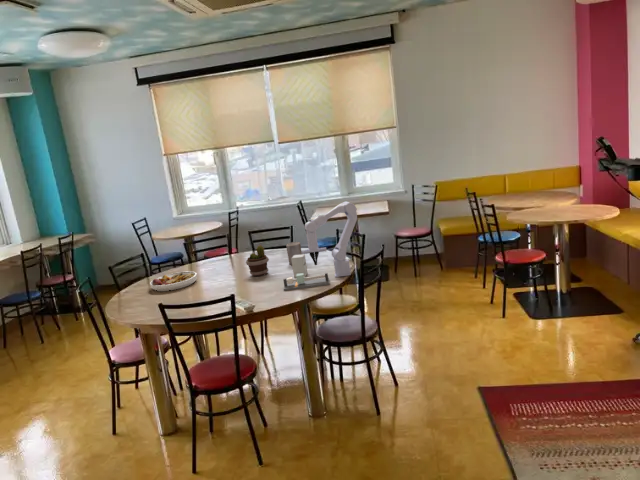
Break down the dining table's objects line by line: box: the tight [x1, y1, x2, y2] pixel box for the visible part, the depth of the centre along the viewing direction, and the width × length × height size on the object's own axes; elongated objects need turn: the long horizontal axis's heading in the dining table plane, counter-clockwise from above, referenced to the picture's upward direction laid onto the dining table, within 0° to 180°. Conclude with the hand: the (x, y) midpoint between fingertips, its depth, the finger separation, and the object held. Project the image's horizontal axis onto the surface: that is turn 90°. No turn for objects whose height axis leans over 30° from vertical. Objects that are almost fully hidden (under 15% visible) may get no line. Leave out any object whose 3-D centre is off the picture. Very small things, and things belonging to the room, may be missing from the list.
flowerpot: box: [245, 243, 270, 277], centre depth 333 cm, size 14×15×20 cm
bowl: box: [149, 270, 198, 292], centre depth 338 cm, size 30×30×8 cm
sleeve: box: [295, 273, 306, 284], centre depth 295 cm, size 4×4×5 cm
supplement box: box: [291, 254, 308, 279], centre depth 317 cm, size 7×7×13 cm
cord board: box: [283, 272, 330, 292], centre depth 296 cm, size 26×10×6 cm, turn 89°
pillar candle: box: [285, 241, 302, 266], centre depth 349 cm, size 10×10×15 cm
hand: (315, 264), depth 302 cm, fingers closed
